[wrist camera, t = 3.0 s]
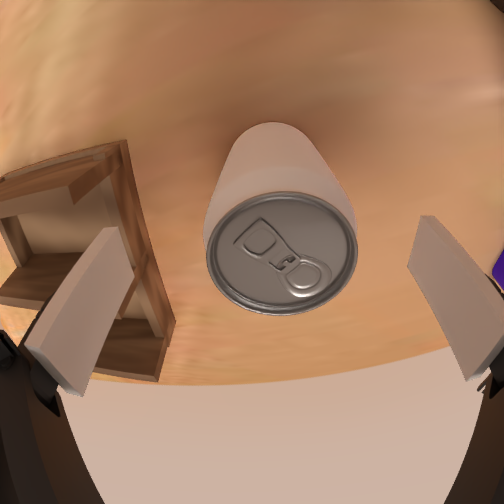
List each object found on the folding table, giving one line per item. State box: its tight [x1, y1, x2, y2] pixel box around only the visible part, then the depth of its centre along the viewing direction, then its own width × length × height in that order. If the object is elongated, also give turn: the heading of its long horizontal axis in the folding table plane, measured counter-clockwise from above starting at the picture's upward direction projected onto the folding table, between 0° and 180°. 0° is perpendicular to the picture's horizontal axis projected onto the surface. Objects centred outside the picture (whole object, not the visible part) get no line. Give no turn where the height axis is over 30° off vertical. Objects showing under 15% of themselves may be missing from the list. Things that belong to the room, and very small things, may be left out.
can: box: [203, 122, 358, 316], centre depth 15 cm, size 6×6×12 cm
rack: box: [0, 140, 176, 382], centre depth 22 cm, size 20×16×8 cm
